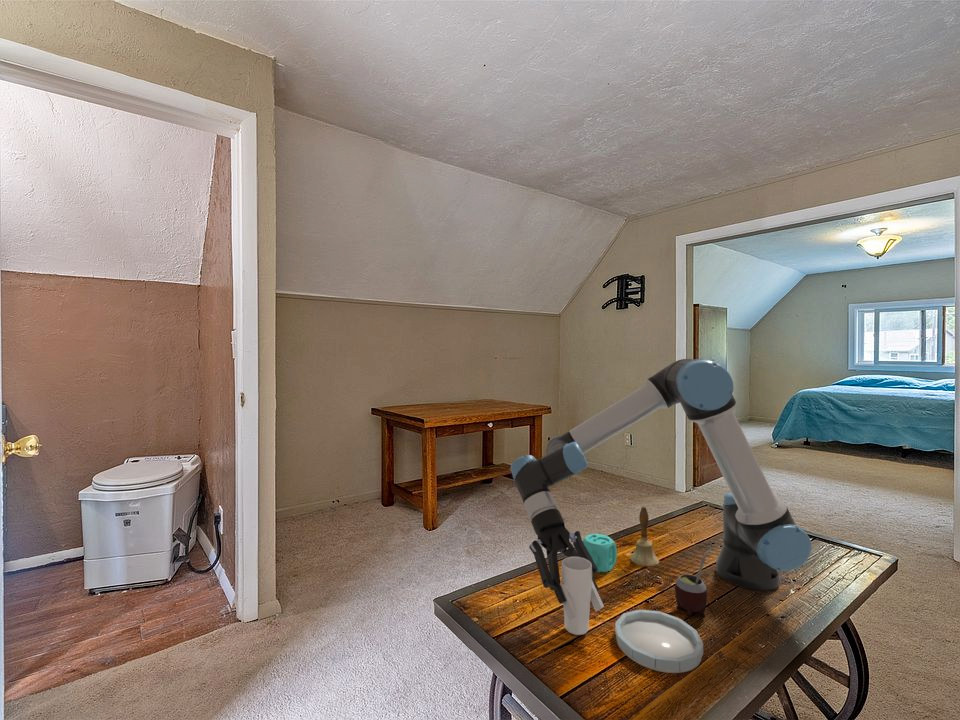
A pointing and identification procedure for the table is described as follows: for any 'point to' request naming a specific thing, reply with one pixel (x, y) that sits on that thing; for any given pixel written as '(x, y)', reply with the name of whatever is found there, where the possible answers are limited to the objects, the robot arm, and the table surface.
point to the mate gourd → (692, 593)
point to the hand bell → (644, 545)
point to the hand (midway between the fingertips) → (586, 613)
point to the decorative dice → (601, 551)
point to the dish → (659, 641)
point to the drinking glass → (577, 592)
